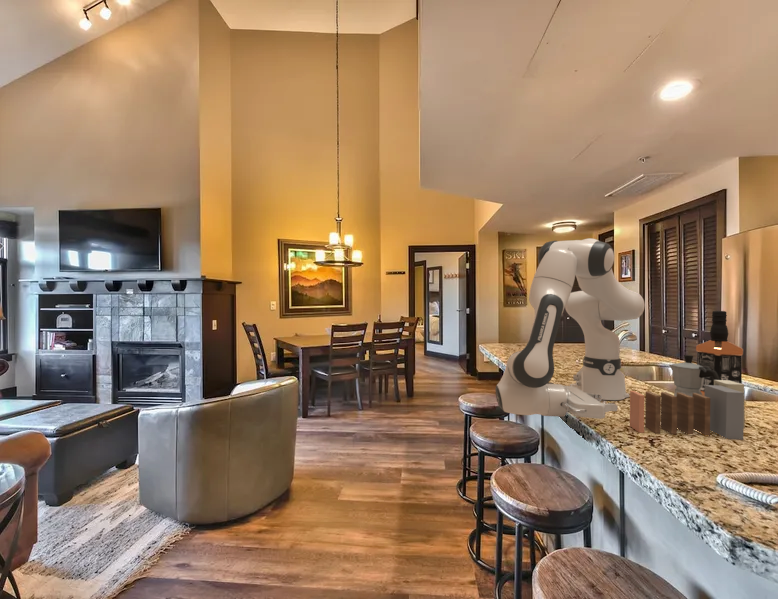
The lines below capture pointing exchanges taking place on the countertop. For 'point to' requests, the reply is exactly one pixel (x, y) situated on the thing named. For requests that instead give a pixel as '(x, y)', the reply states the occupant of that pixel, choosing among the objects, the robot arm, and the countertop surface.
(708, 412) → the walnut domino
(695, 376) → the coffee maker
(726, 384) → the skincare box
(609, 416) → the countertop surface
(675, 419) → the walnut domino
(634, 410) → the terracotta domino
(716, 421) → the end block
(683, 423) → the walnut domino
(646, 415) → the walnut domino
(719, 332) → the whiskey bottle
